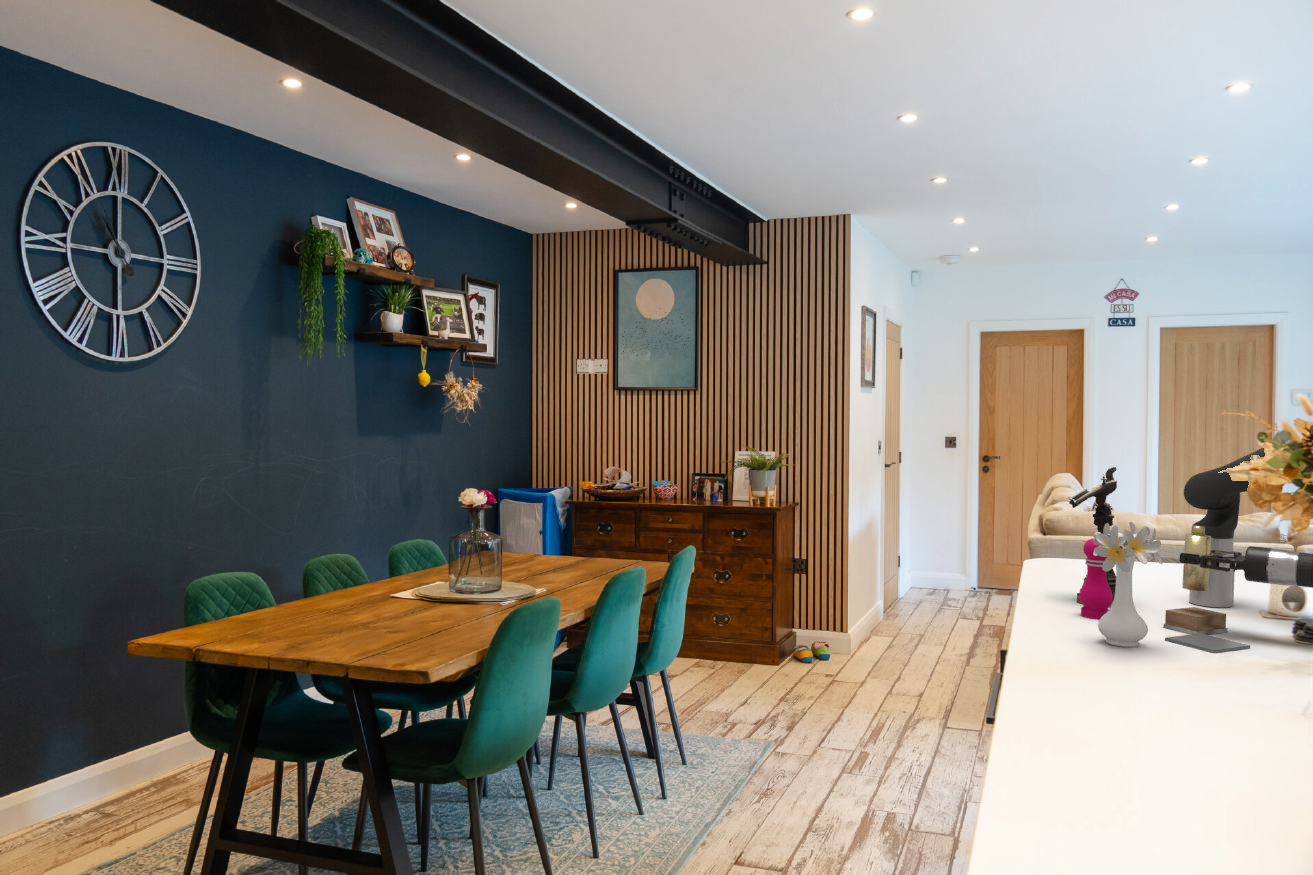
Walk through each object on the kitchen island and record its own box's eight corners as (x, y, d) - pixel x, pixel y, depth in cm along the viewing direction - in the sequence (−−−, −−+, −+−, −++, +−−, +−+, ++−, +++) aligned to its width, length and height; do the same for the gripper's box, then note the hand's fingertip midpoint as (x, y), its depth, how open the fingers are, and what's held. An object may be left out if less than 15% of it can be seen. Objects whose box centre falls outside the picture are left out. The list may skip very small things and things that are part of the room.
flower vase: (1086, 650, 189) (1089, 526, 189) (1092, 631, 206) (1096, 517, 205) (1159, 659, 183) (1163, 531, 182) (1160, 639, 199) (1163, 522, 198)
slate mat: (1200, 635, 203) (1200, 633, 203) (1250, 648, 193) (1250, 645, 193) (1164, 640, 199) (1164, 637, 199) (1214, 653, 188) (1214, 650, 188)
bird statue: (1054, 604, 234) (1058, 464, 233) (1055, 595, 246) (1058, 462, 245) (1128, 610, 228) (1132, 467, 227) (1125, 601, 240) (1129, 464, 239)
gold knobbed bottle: (1192, 585, 212) (1196, 524, 212) (1213, 590, 208) (1216, 527, 207) (1177, 587, 210) (1180, 525, 210) (1197, 591, 206) (1201, 528, 205)
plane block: (1193, 624, 215) (1194, 606, 214) (1227, 631, 207) (1228, 613, 207) (1163, 627, 211) (1163, 609, 210) (1196, 635, 203) (1197, 617, 203)
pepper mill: (1105, 613, 225) (1108, 530, 224) (1117, 620, 217) (1119, 534, 217) (1074, 612, 225) (1076, 529, 225) (1084, 619, 218) (1087, 533, 217)
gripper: (1278, 544, 204) (1191, 536, 216) (1267, 552, 194) (1175, 542, 205) (1277, 578, 205) (1189, 568, 216) (1266, 588, 194) (1174, 576, 205)
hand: (1183, 556), depth 210 cm, fingers closed on gold knobbed bottle, 5 cm apart
